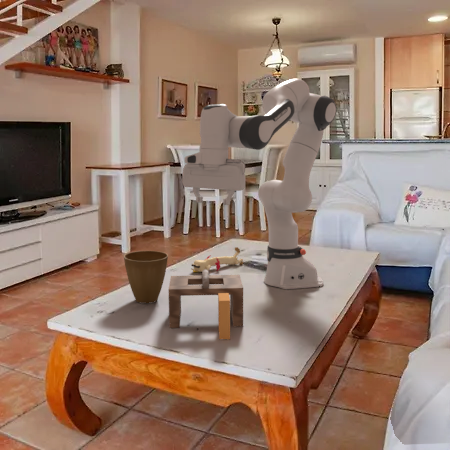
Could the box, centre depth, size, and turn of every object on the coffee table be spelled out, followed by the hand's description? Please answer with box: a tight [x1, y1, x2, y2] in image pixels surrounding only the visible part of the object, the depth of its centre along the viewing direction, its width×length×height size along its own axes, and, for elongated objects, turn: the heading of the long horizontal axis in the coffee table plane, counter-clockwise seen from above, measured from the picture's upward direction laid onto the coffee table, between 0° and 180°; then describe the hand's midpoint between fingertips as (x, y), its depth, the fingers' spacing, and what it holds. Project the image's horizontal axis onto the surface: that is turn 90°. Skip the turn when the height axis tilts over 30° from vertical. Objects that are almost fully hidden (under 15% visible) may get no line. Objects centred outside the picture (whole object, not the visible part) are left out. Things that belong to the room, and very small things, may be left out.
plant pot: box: [123, 250, 169, 304], centre depth 177 cm, size 15×15×16 cm
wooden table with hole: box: [168, 269, 244, 329], centre depth 159 cm, size 22×14×14 cm, turn 93°
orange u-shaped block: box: [217, 293, 231, 340], centre depth 147 cm, size 7×3×11 cm, turn 3°
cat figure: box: [190, 247, 245, 273], centre depth 218 cm, size 10×9×25 cm
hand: (212, 203), depth 159 cm, fingers open, 8 cm apart
